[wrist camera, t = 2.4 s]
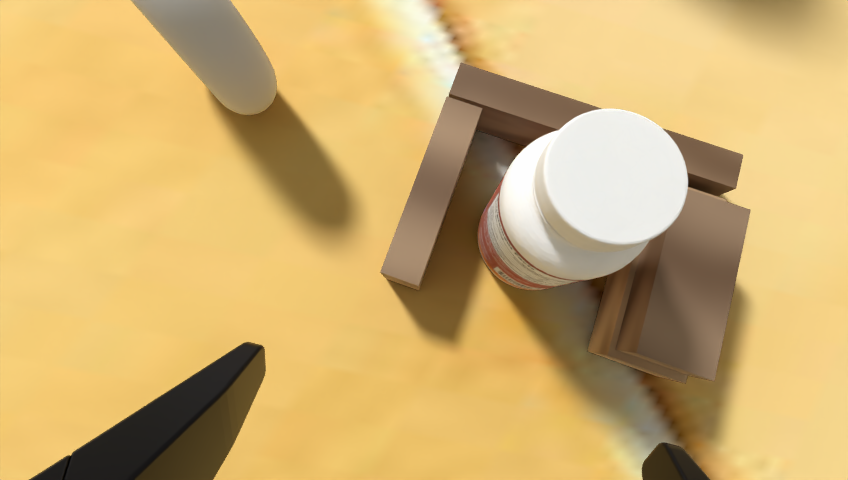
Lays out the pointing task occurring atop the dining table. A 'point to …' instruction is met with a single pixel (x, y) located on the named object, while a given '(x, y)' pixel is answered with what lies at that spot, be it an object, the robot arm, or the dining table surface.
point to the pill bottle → (583, 201)
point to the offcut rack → (631, 285)
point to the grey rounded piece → (216, 50)
